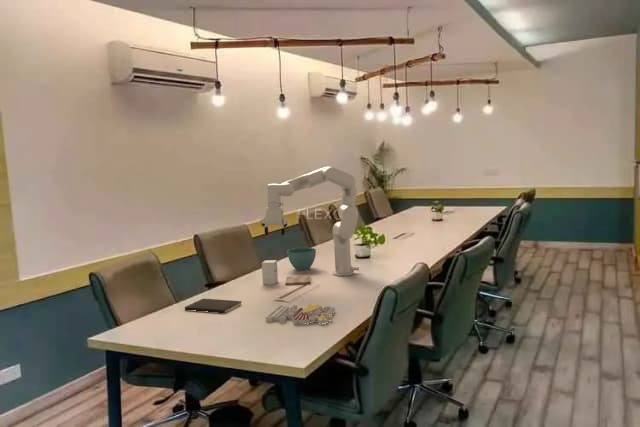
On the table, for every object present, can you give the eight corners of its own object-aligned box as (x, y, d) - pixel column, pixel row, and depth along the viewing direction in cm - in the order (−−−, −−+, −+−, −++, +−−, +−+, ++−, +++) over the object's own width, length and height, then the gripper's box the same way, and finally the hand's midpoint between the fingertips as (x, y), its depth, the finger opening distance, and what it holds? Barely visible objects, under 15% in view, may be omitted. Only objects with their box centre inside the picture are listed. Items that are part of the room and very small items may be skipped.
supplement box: (275, 284, 320) (273, 262, 319) (262, 284, 322) (261, 262, 320) (278, 281, 328) (277, 259, 326) (266, 281, 329) (264, 260, 328)
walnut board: (310, 277, 333) (310, 275, 333) (310, 283, 317) (310, 281, 317) (286, 278, 333) (286, 276, 333) (285, 285, 317) (285, 283, 317)
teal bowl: (283, 271, 352) (282, 252, 350) (295, 265, 369) (294, 247, 367) (310, 273, 345) (309, 253, 343) (321, 266, 362) (320, 247, 360)
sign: (281, 303, 272) (341, 305, 264) (281, 308, 273) (341, 310, 264) (262, 319, 248) (328, 321, 240) (262, 324, 249) (328, 327, 240)
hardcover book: (203, 302, 291) (203, 298, 290) (242, 305, 282) (241, 301, 282) (184, 311, 276) (184, 307, 276) (224, 314, 267) (224, 310, 267)
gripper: (290, 204, 325) (290, 234, 326) (261, 204, 328) (262, 233, 330) (286, 206, 317) (287, 236, 319) (257, 205, 321) (258, 235, 323)
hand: (274, 234), depth 325 cm, fingers open, 9 cm apart
